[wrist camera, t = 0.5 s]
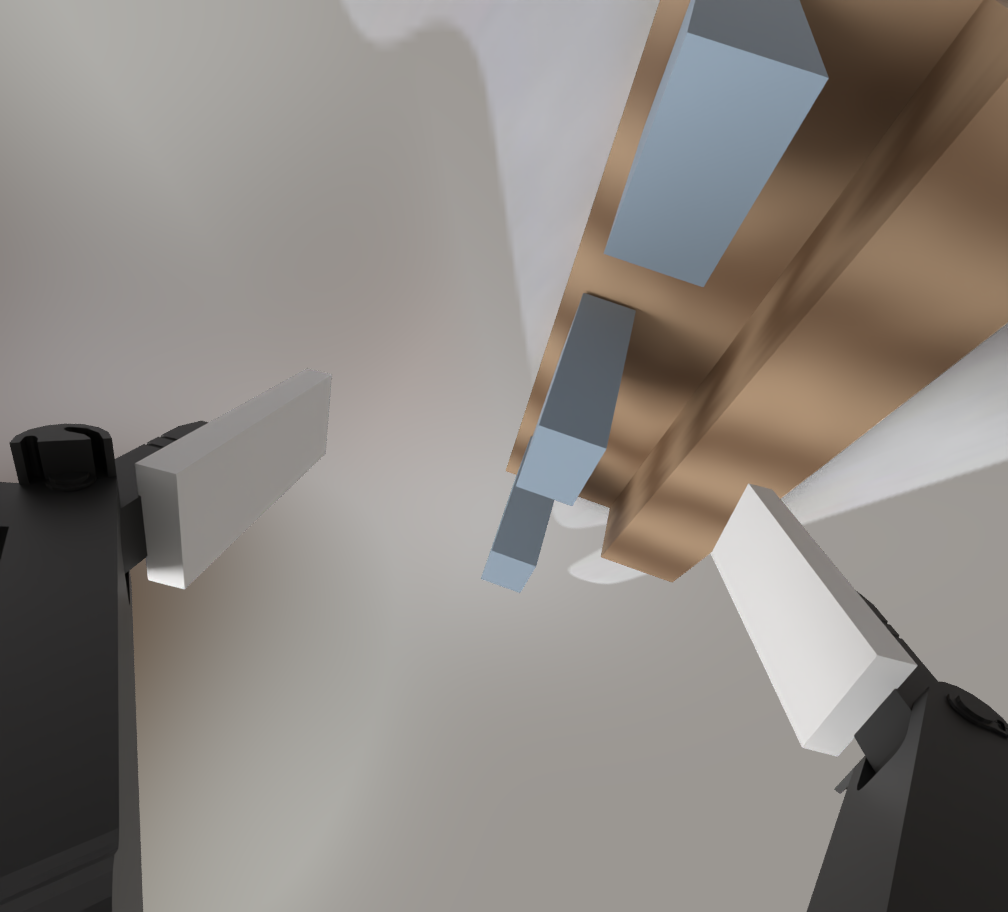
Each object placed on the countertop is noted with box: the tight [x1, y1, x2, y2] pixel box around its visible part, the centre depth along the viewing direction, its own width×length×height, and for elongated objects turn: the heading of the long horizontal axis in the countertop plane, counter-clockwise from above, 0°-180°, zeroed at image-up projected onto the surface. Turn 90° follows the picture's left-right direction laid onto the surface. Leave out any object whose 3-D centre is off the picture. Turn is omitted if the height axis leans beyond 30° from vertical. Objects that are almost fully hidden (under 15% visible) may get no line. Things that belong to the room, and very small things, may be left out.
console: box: [506, 0, 1008, 582], centre depth 27 cm, size 33×16×6 cm, turn 170°
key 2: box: [604, 0, 829, 287], centre depth 15 cm, size 5×3×10 cm, turn 170°
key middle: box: [516, 293, 636, 506], centre depth 25 cm, size 5×3×10 cm, turn 170°
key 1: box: [481, 436, 554, 593], centre depth 36 cm, size 5×3×10 cm, turn 170°
